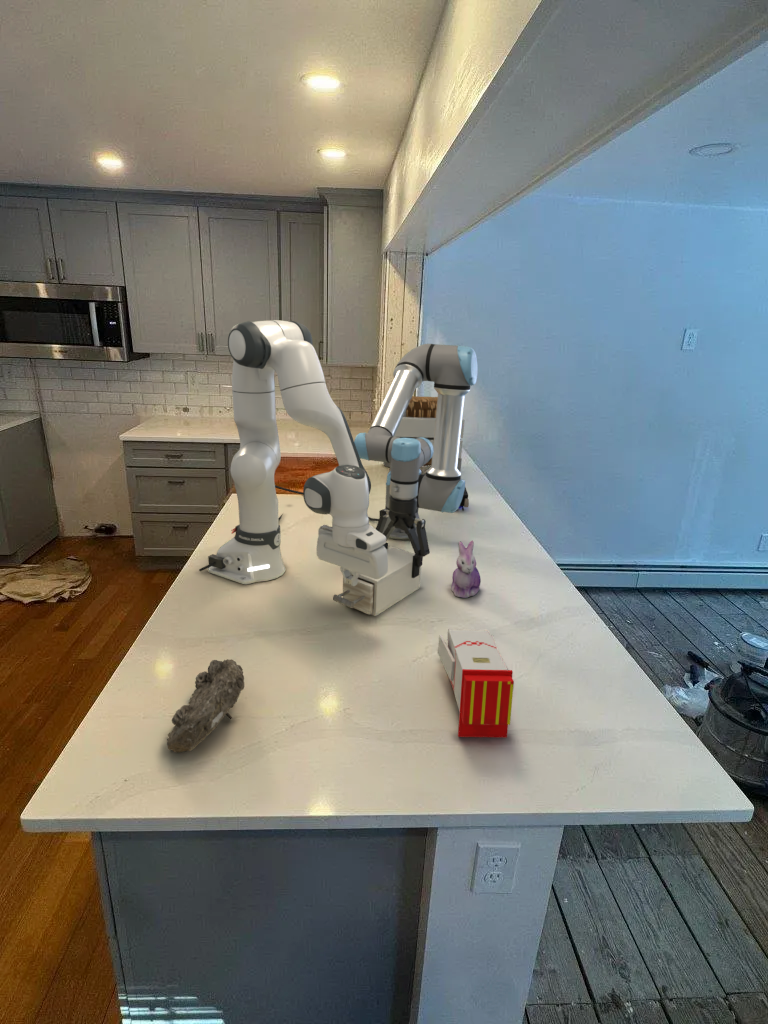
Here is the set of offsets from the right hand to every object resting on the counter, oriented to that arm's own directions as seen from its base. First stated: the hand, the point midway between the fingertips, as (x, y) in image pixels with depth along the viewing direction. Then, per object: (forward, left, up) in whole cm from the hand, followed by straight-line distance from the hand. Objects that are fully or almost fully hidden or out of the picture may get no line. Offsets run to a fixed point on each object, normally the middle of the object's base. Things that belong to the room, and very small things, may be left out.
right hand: (399, 570), depth 160 cm
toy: (+44, -20, -5) cm, 49 cm away
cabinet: (+2, -7, -5) cm, 9 cm away
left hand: (+5, -21, +4) cm, 23 cm away
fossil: (+19, -65, -5) cm, 68 cm away
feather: (-67, +2, -5) cm, 67 cm away
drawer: (+3, -12, -4) cm, 13 cm away
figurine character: (-38, +67, -5) cm, 77 cm away
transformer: (-82, +88, -5) cm, 121 cm away
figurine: (+13, +14, -5) cm, 20 cm away
